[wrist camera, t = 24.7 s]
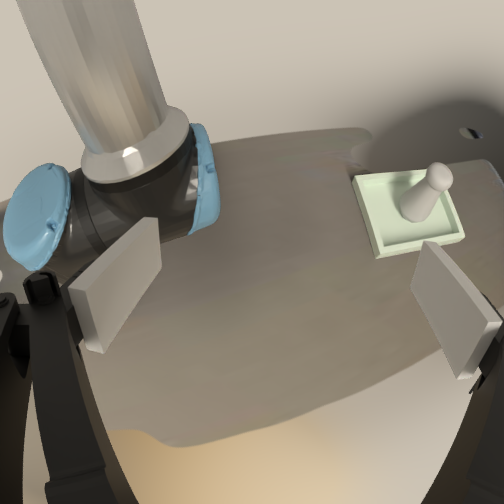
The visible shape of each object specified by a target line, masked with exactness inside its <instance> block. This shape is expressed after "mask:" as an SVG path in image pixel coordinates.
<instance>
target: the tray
mask: <svg viewBox="0 0 504 504" xmlns="http://www.w3.org/2000/svg"><path fill="white" fill-rule="evenodd" d="M426 170H427V169H425V170H411V171H399V172H388V173H377V174H367V175H357V176H355V177H354V179H353V181H352V185H353V188H354V191H355V194H356V197H357V200H358V203H359V206H360V209H361V212H362V215H363V219H364V222H365V225H366V228H367V232H368V235H369V238H370V242H371V245H372V249H373V252H374V256H375V259H377V258H382V257H387V256H392V255H397V254H402V253H407V252H412V251H417V250H421V248H422V244H423V240H424V241H432V242H436V243H437V244H438V245H439V246H441V245H446V244H450V243H455V242H459V241H460V240H462V239H463V238H465V234H464V231H463V228H462V226H461V223H460V220H459V218H458V215H457V212H456V210H455V207H454V205H453V202H452V200H451V197H450V195H449V192H448V190H446V191H442V192H441V194H440V196H439V198H438V200H437V202H436V204H435V206H434V207H433V209H432V211H431V213H430V215H429V217H427V218H426V219H425V220H424V221H422V222H417V223H411V222H409V221H407V220H406V219H404V218H403V217H402V214H401V211H400V209H399V203H400V199H401V196H402V195H403V194H404V193H405V192H406V191H407V190H409V189H410V188H411V187H413V186H414V185H415V184H416V183H418V182H419V181H420V180H421V179H423V178H424V177H425V175H426Z"/></svg>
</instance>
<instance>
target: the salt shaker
mask: <svg viewBox="0 0 504 504" xmlns="http://www.w3.org/2000/svg"><path fill="white" fill-rule="evenodd" d="M452 183H453V176H452V173H451V171H450V170H449V168H448V167H447V166H445V165H444V164H441V163H439V162H436V163H433V164H431V165H430V166H429V167H428V168H427V170H426V175H425V177H424V178H423V179H421V180H420V181H419V182H418V183H416V184H415V185H414V186H413V187H411V188H410V189H409V190H407V191H406V192H405V193H404V194H403V195H402V196H401V199H400V203H399V209H400V211H401V214H402V217H403V218H404V219H406V220H407V221H409V222H411V223H417V222H422V221H424V220H425V219H426V218H427V217H429V215H430V213H431V211H432V209H433V207H434V206H435V204H436V202H437V200H438V198H439V196H440V194H441V192H442V191H446V190H447V189H448V188H449V187H450V186H451V185H452Z"/></svg>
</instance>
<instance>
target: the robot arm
mask: <svg viewBox="0 0 504 504" xmlns="http://www.w3.org/2000/svg"><path fill="white" fill-rule="evenodd" d="M16 1H17V4H18V7H19V9H20V11H21V14H22V17H23V19H24V22H25V24H26V26H27V29H28V31H29V34H30V36H31V38H32V41H33V43H34V45H35V47H36V50H37V52H38V54H39V56H40V58H41V61H42V63H43V65H44V67H45V69H46V71H47V73H48V75H49V78H50V79H51V82H52V84H53V86H54V88H55V90H56V92H57V94H58V96H59V97H60V100H61V102H62V103H63V105H64V107H65V109H66V111H67V113H68V115H69V117H70V119H71V121H72V122H73V124H74V126H75V128H76V130H77V132H78V133H79V135H80V137H81V139H82V141H83V142H84V144H85V146H86V147H85V150H84V152H83V155H82V159H81V168H79V169H77V170H75V171H72V172H70V173H68V172H67V170H66V169H65V168H64V167H62V166H59V165H55V164H53V163H47V164H44V165H41V166H39V167H37V168H35V169H34V170H32V171H31V172H30V173H29V174H28V175H26V177H25V178H24V179H23V180H22V181H21V182H20V184H19V185H18V187H17V188H16V189H15V191H14V193H13V196H12V197H11V199H10V201H9V204H8V206H7V209H6V213H5V217H4V223H3V238H4V243H5V247H6V249H7V251H8V253H9V254H10V256H11V257H12V258H13V259H14V260H16V261H17V262H19V263H20V264H22V265H23V266H24V267H25V268H26V269H28V270H30V271H35V272H36V273H33V274H31V275H30V276H28V277H27V278H26V279H25V280H24V282H23V287H24V290H25V293H26V296H27V299H28V301H29V304H18V302H17V300H16V297H15V295H14V294H13V293H0V504H23V488H22V487H23V484H22V481H23V479H22V478H23V451H24V438H25V428H26V418H27V410H28V403H29V396H30V390H31V384H32V382H33V391H34V399H35V407H36V413H37V420H38V425H39V431H40V436H41V441H42V446H43V451H44V455H45V459H46V463H47V467H48V471H49V476H50V481H49V482H47V483H45V494H46V499H47V502H48V504H139V503H138V501H137V499H136V498H135V496H134V494H133V492H132V490H131V488H130V485H129V483H128V482H127V479H126V477H125V475H124V473H123V471H122V468H121V466H120V464H119V462H118V459H117V457H116V455H115V452H114V450H113V448H112V445H111V443H110V440H109V438H108V435H107V433H106V430H105V427H104V425H103V422H102V419H101V416H100V413H99V411H98V408H97V405H96V402H95V399H94V396H93V392H92V389H91V386H90V383H89V379H88V376H87V372H86V369H85V365H84V361H83V358H82V354H81V350H80V348H79V345H78V344H79V343H80V341H81V340H82V339H83V338H84V341H85V344H86V347H87V349H88V350H91V351H95V352H99V353H103V354H104V353H105V352H106V350H107V349H108V347H109V345H110V344H111V342H112V341H113V339H114V338H115V336H116V335H117V333H118V331H119V330H120V328H121V327H122V325H123V324H124V322H125V321H126V319H127V318H128V316H129V315H130V313H131V312H132V310H133V309H134V307H135V306H136V304H137V303H138V301H139V300H140V299H141V297H142V296H143V294H144V293H145V291H146V290H147V288H148V287H149V285H150V284H151V283H152V281H153V280H154V278H155V277H156V275H157V274H158V273H159V271H160V270H161V268H162V262H161V252H160V244H161V243H164V242H167V241H170V240H173V239H176V238H180V237H183V236H186V235H191V234H192V233H193V232H194V231H197V230H199V229H202V228H204V227H207V226H209V225H211V224H213V223H214V222H215V221H216V220H217V219H218V217H219V214H220V208H221V202H220V191H219V184H218V178H217V173H216V170H215V168H214V166H215V164H214V158H213V152H212V148H211V145H210V141H209V138H208V135H207V132H206V130H205V128H204V126H203V125H201V124H192V123H191V124H189V121H188V118H187V116H186V115H185V113H184V112H183V111H181V110H179V109H178V108H175V107H171V106H168V105H167V104H166V101H165V98H164V95H163V92H162V89H161V86H160V83H159V80H158V77H157V74H156V71H155V68H154V64H153V61H152V58H151V55H150V52H149V49H148V46H147V42H146V39H145V36H144V33H143V30H142V26H141V23H140V20H139V16H138V13H137V10H136V7H135V3H134V0H16ZM58 283H61V284H63V285H62V286H61V287H60V288H59V284H58ZM410 289H411V291H412V293H413V295H414V296H415V298H416V300H417V302H418V304H419V305H420V307H421V309H422V311H423V313H424V314H425V316H426V318H427V320H428V322H429V324H430V326H431V328H432V330H433V331H434V333H435V335H436V337H437V339H438V341H439V343H440V345H441V347H442V349H443V351H444V353H445V355H446V358H447V360H448V362H449V364H450V366H451V368H452V370H453V372H454V375H455V377H456V379H465V378H471V377H472V376H473V374H474V372H475V371H476V369H477V367H478V366H479V368H480V370H481V372H482V374H481V375H480V376H479V378H478V380H477V381H476V383H475V384H474V386H473V387H472V389H471V390H470V392H469V394H471V393H472V391H473V394H472V397H471V400H470V403H469V405H468V408H467V411H466V413H465V416H464V418H463V421H462V423H461V426H460V428H459V431H458V433H457V435H456V438H455V440H454V442H453V444H452V446H451V449H450V451H449V453H448V455H447V457H446V459H445V461H444V463H443V465H442V467H441V469H440V471H439V473H438V475H437V476H436V478H435V480H434V482H433V484H432V486H431V487H430V489H429V491H428V493H427V494H426V496H425V498H424V499H423V501H422V503H421V504H504V319H503V317H502V316H501V315H500V314H499V313H498V311H497V310H496V308H495V307H494V306H493V305H491V302H490V301H489V299H488V298H487V297H486V296H485V295H484V294H482V293H481V292H480V291H479V290H478V289H477V288H476V287H475V286H474V284H473V283H472V282H471V281H470V280H469V278H468V277H467V276H466V275H465V274H464V273H463V271H462V270H461V269H460V268H459V267H458V266H457V265H456V263H455V262H454V261H453V260H452V259H451V258H450V257H449V256H448V255H447V253H446V252H445V251H444V250H443V249H442V248H441V247H440V246H439V245H438V244H437V243H436V242H432V241H424V240H423V244H422V248H421V251H420V255H419V259H418V262H417V266H416V269H415V273H414V276H413V279H412V282H411V286H410Z"/></svg>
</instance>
